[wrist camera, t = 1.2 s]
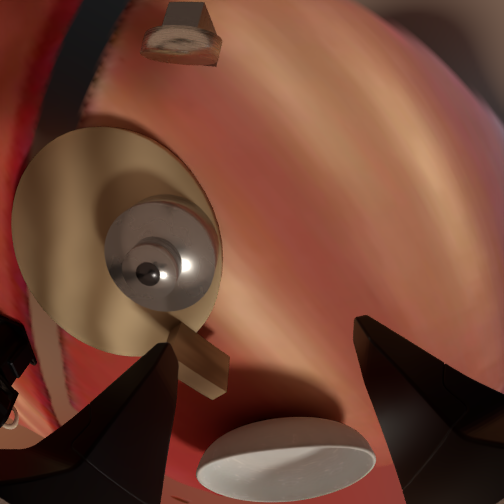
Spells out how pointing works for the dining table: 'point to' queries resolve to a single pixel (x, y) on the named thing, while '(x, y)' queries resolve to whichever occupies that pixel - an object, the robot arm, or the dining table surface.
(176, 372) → the robot arm
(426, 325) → the dining table surface
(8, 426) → the teacup with lid
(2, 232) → the dining table surface
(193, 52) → the dial gauge
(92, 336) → the tan piece
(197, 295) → the cover
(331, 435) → the serving bowl
